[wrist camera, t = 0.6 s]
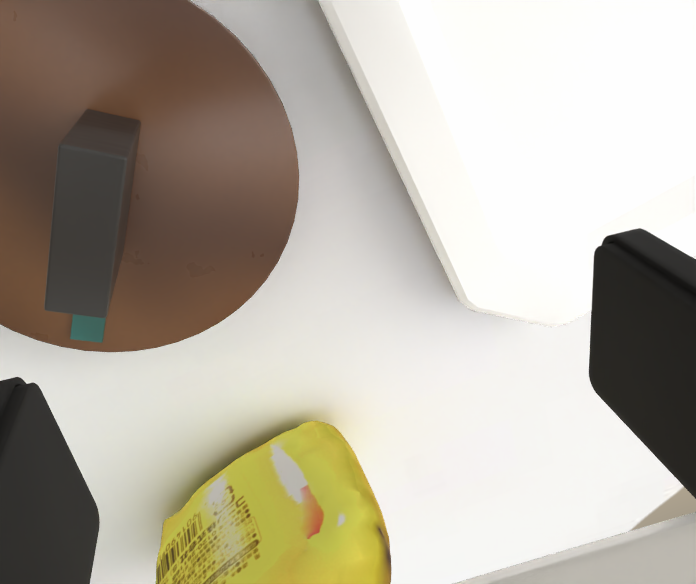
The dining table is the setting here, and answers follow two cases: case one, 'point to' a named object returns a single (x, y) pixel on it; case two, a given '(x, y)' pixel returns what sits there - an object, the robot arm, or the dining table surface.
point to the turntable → (135, 172)
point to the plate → (531, 134)
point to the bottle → (281, 519)
